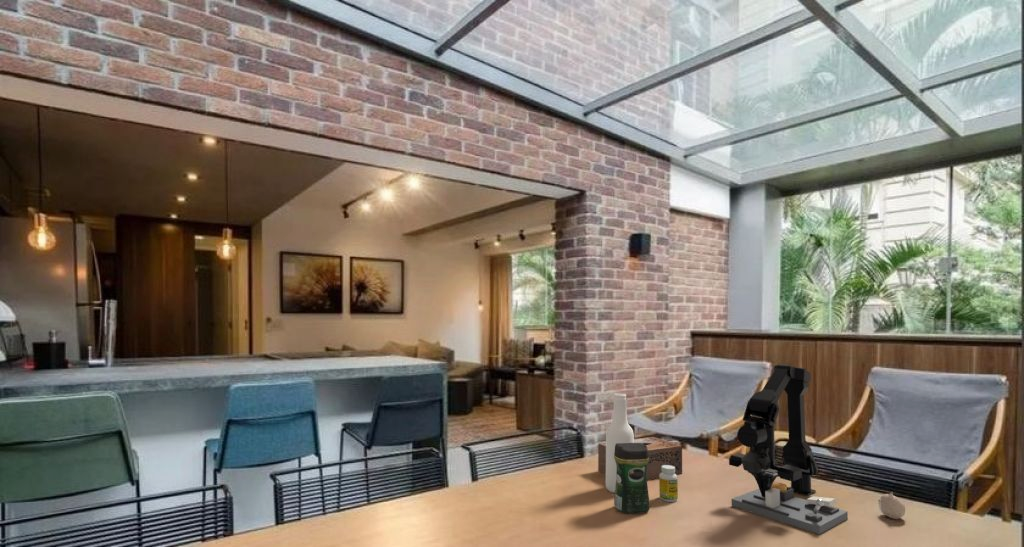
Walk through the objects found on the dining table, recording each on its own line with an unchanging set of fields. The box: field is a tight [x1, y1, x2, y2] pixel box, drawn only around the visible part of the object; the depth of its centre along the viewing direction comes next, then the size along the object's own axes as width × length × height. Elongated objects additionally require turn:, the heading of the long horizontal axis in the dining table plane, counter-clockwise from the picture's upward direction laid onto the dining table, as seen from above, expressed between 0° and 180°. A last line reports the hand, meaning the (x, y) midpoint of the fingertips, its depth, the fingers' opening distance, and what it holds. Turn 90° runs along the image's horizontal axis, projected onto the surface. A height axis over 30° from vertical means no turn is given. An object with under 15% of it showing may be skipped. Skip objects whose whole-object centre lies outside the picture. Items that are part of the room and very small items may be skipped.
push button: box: [771, 481, 788, 492], centre depth 155 cm, size 4×4×3 cm
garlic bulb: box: [877, 491, 906, 520], centre depth 145 cm, size 7×6×8 cm
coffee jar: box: [613, 443, 651, 514], centre depth 148 cm, size 10×8×19 cm
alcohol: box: [605, 392, 635, 494], centre depth 165 cm, size 9×9×30 cm
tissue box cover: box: [597, 436, 683, 481], centre depth 182 cm, size 26×14×10 cm, turn 117°
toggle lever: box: [813, 499, 824, 514], centre depth 137 cm, size 2×2×4 cm
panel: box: [731, 486, 849, 535], centre depth 147 cm, size 18×24×4 cm
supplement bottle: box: [658, 465, 679, 503], centre depth 156 cm, size 5×5×10 cm
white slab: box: [806, 496, 837, 507], centre depth 145 cm, size 4×6×1 cm, turn 37°
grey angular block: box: [765, 488, 780, 508], centre depth 146 cm, size 5×2×4 cm, turn 127°
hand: (764, 496), depth 148 cm, fingers closed
